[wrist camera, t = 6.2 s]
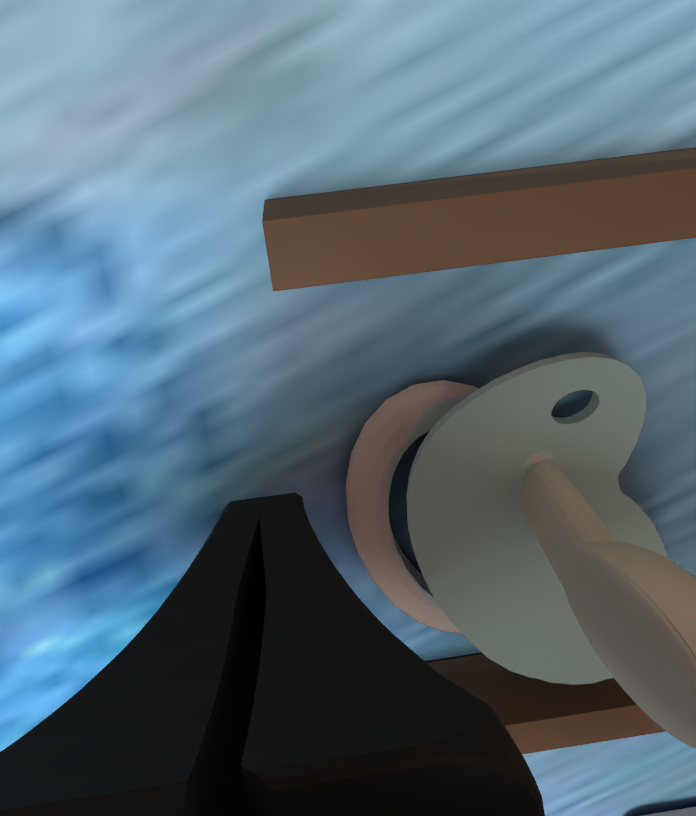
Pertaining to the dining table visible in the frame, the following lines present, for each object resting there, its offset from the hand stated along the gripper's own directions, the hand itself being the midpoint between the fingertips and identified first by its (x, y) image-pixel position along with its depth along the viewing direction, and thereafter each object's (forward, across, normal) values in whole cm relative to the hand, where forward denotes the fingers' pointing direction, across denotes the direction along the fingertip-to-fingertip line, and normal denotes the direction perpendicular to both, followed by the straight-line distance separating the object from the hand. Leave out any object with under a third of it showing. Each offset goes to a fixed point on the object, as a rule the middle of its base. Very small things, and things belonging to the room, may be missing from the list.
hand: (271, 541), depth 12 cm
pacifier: (+2, -4, 0) cm, 5 cm away
